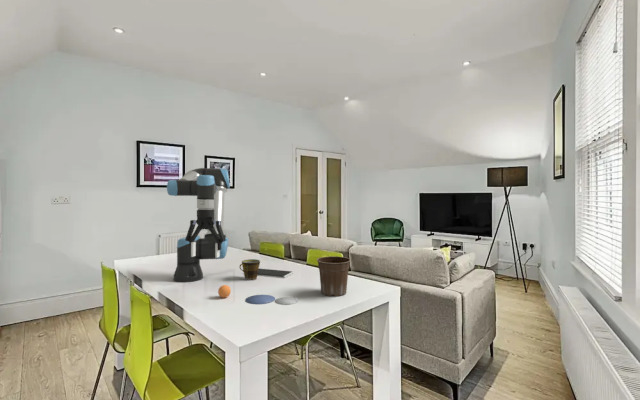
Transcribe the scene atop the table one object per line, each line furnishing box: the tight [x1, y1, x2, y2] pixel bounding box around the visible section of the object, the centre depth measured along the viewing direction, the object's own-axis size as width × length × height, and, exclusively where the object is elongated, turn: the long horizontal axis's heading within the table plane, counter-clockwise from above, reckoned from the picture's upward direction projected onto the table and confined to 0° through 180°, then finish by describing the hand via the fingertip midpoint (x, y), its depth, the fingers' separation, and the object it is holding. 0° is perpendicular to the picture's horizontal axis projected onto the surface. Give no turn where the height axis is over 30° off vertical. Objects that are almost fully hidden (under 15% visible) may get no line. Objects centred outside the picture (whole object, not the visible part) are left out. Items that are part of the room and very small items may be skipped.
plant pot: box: [316, 255, 351, 297], centre depth 159 cm, size 16×16×16 cm
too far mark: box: [274, 296, 299, 306], centre depth 146 cm, size 10×10×1 cm
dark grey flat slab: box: [257, 268, 295, 279], centre depth 197 cm, size 13×27×2 cm, turn 71°
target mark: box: [245, 294, 276, 305], centre depth 148 cm, size 13×13×1 cm
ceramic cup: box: [239, 258, 261, 281], centre depth 183 cm, size 13×10×10 cm
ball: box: [217, 284, 232, 298], centre depth 150 cm, size 6×6×6 cm
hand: (205, 256), depth 152 cm, fingers open, 11 cm apart
